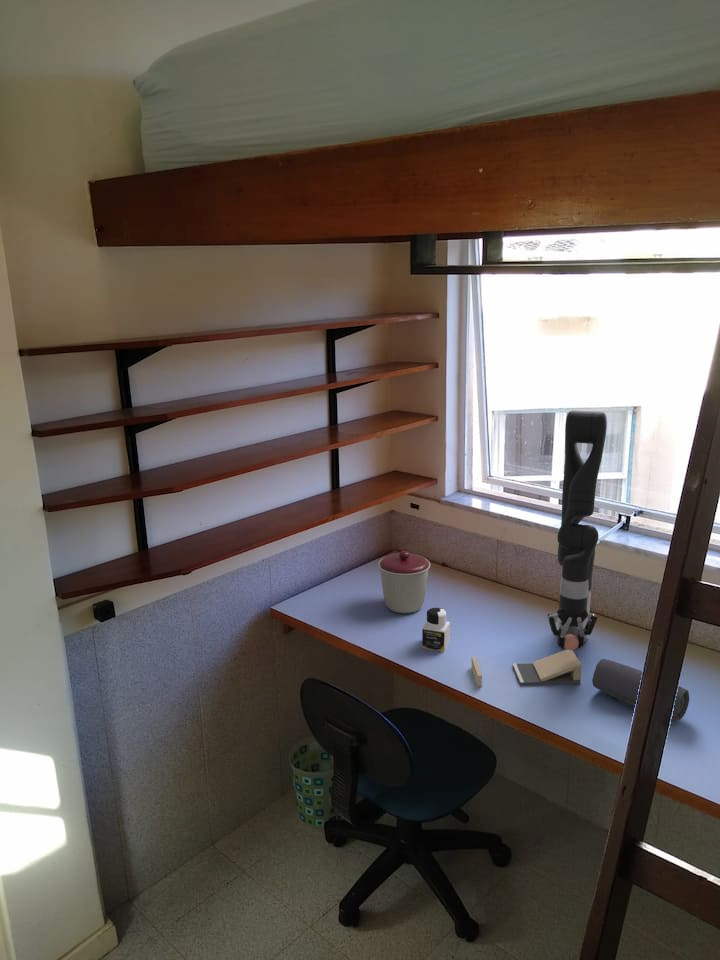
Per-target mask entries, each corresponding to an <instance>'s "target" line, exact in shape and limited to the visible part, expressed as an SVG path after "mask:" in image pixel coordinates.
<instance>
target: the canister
mask: <svg viewBox="0 0 720 960" xmlns="http://www.w3.org/2000/svg"><path fill="white" fill-rule="evenodd" d="M377 566H378V569H379V570H380V578H381V587H382V594H383V600H384V604H385V606H386V607H387V608H388V610H390V611H392V612H394V613H397V614H411V613H416V612H417V611H419V610H420V609H421V608H422V607H423V605H424V602H425V597H426V591H427V590H426V589H427V582H428V575H429V569H430V568H431V562H430V561H429V560H428V559H427V558H425V557H423V556H422V555H419V554H416V553H411V552H409V551H407V550H401V551H400V552H397V553H396V552H395V553H392V554H388V555H386V556H384V557H383V558H381V559H380V560H379V561H378V563H377Z"/></svg>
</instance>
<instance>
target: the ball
mask: <svg viewBox="0 0 720 960" xmlns="http://www.w3.org/2000/svg"><path fill="white" fill-rule="evenodd" d="M564 638H565V641H564V649H565V650H567V649H568V650H576V649H578V644H579V641H578V638H577V637H576V636H575V635H572V634H568V635H566V636H565V637H564Z"/></svg>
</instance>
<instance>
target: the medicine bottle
mask: <svg viewBox="0 0 720 960" xmlns="http://www.w3.org/2000/svg"><path fill="white" fill-rule="evenodd" d="M421 631H422V632H421V633H422V637H421V639H422V643H421V644H422V645H421V648H423V649H425V650H431V651H435V652H436V651H437V652H441V653H442V652H443V653H444V652H445V651H446V649H447V648H448V646H449V644H450V641H451V639H450V637H451V622H450V621H447V612H446V610H445V609H443V608H441V607H431V608H429V609H428V610H427V611H426V622H425V623H424V625H423V627H422V628H421Z"/></svg>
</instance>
